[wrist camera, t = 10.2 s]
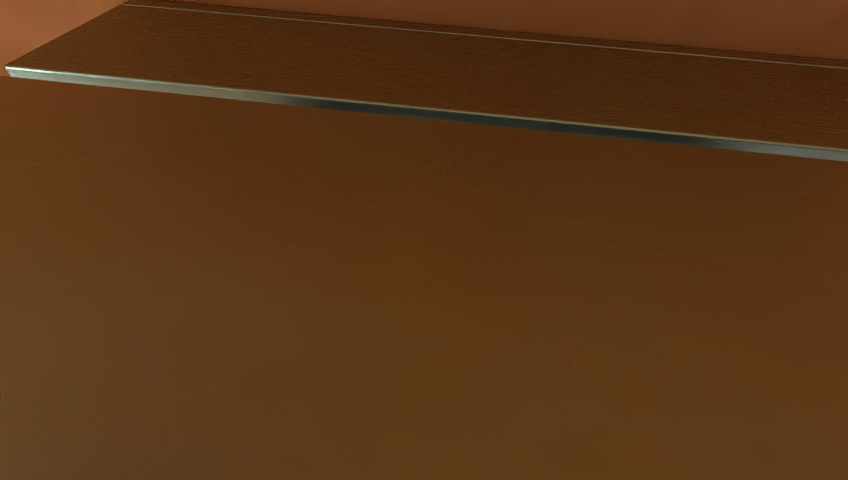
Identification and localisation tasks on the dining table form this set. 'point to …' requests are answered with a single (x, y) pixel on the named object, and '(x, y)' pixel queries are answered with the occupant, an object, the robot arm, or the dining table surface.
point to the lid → (407, 298)
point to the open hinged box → (460, 76)
